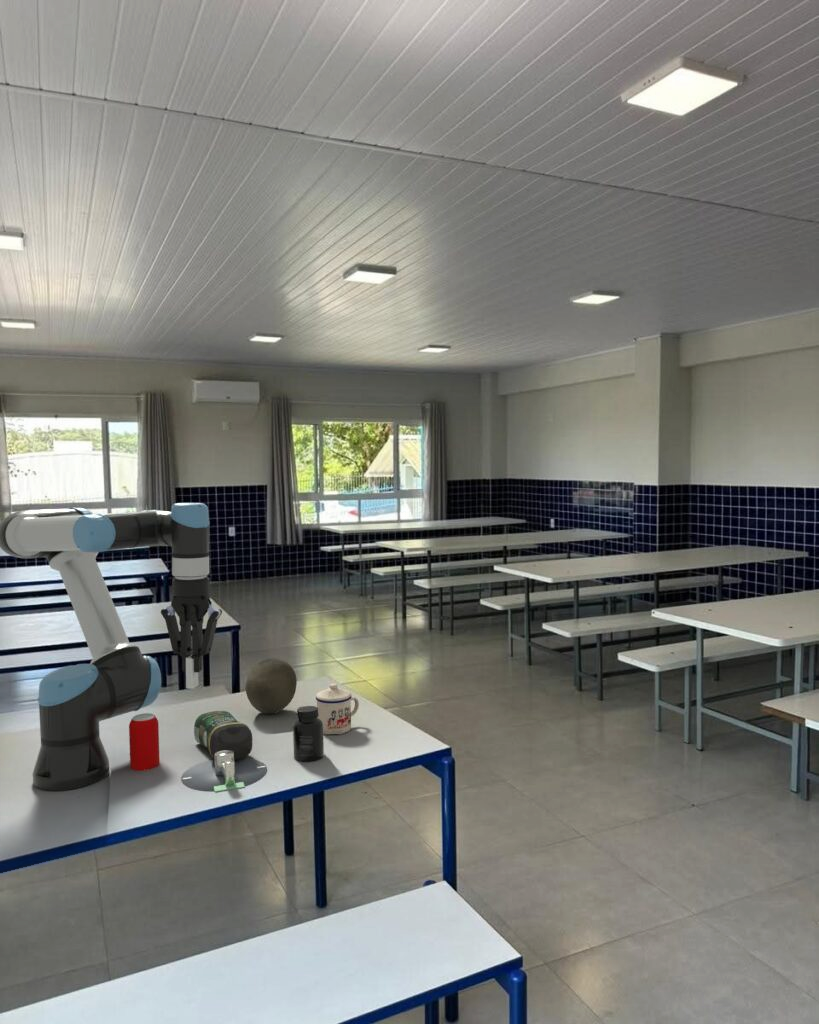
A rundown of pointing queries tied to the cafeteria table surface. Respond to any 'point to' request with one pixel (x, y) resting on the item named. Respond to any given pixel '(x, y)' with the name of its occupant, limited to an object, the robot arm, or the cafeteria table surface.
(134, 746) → the beverage can
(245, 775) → the dial plate
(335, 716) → the teacup with lid
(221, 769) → the pointer
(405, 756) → the cafeteria table surface
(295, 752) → the supplement bottle
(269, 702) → the cantaloupe
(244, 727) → the coffee jar
